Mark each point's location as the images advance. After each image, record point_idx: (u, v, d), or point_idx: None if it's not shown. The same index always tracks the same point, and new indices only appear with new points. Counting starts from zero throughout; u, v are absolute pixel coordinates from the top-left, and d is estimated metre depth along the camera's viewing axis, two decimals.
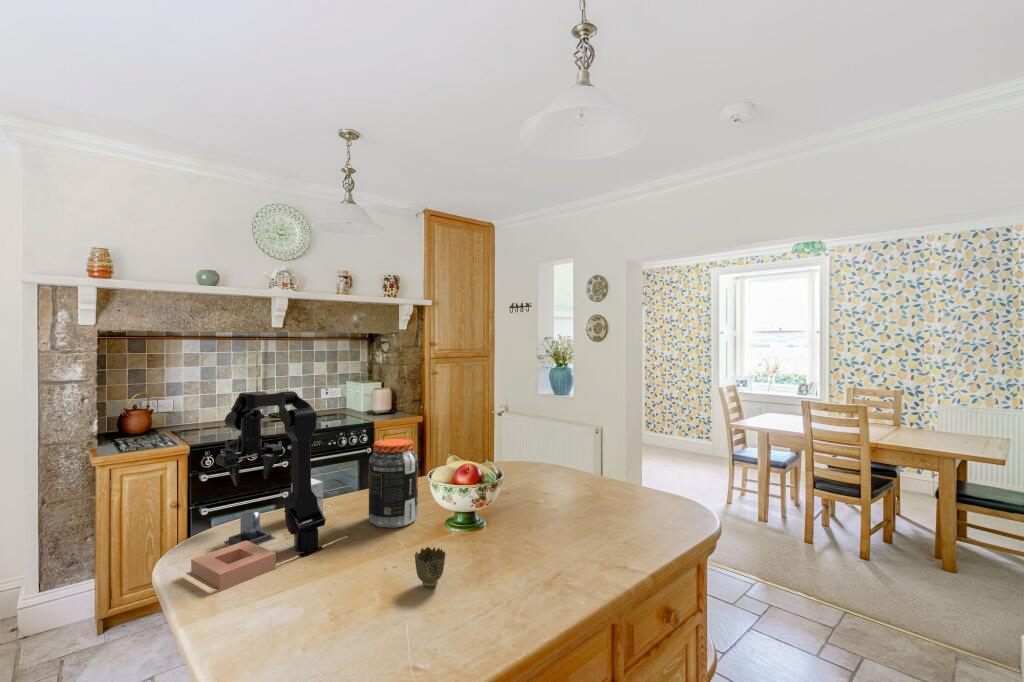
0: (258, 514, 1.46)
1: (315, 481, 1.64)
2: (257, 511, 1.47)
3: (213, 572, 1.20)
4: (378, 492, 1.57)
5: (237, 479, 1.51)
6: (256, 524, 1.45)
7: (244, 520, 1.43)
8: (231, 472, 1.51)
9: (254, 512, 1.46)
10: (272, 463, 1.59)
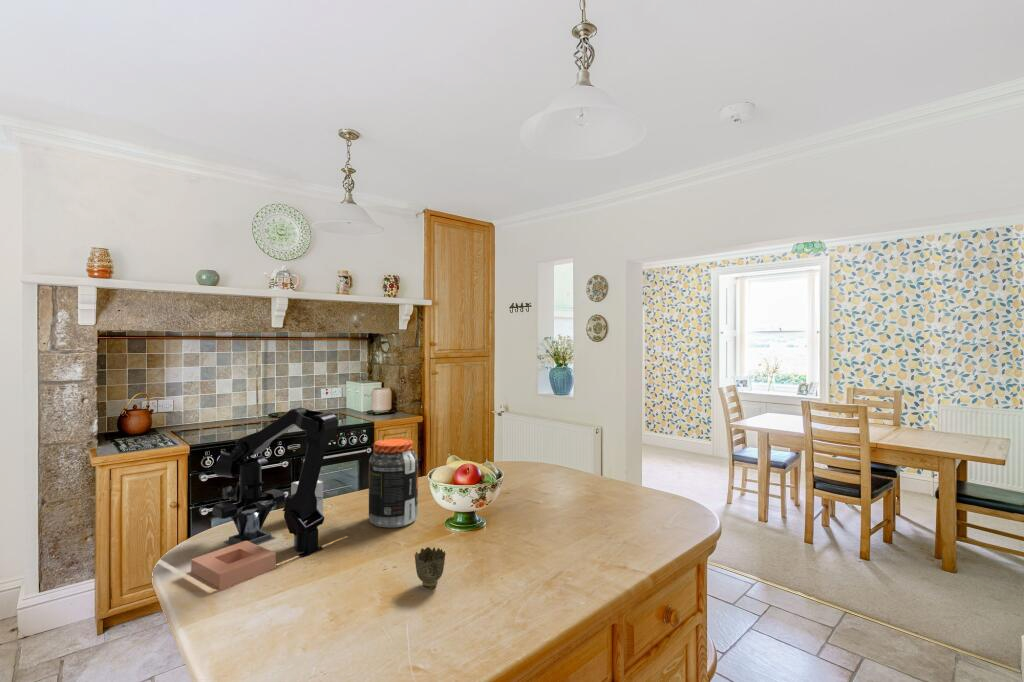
0: (258, 514, 1.46)
1: None
2: (257, 511, 1.47)
3: (213, 572, 1.20)
4: (378, 492, 1.57)
5: (242, 529, 1.43)
6: (256, 524, 1.45)
7: (244, 520, 1.43)
8: (236, 521, 1.43)
9: (254, 512, 1.46)
10: (266, 513, 1.48)
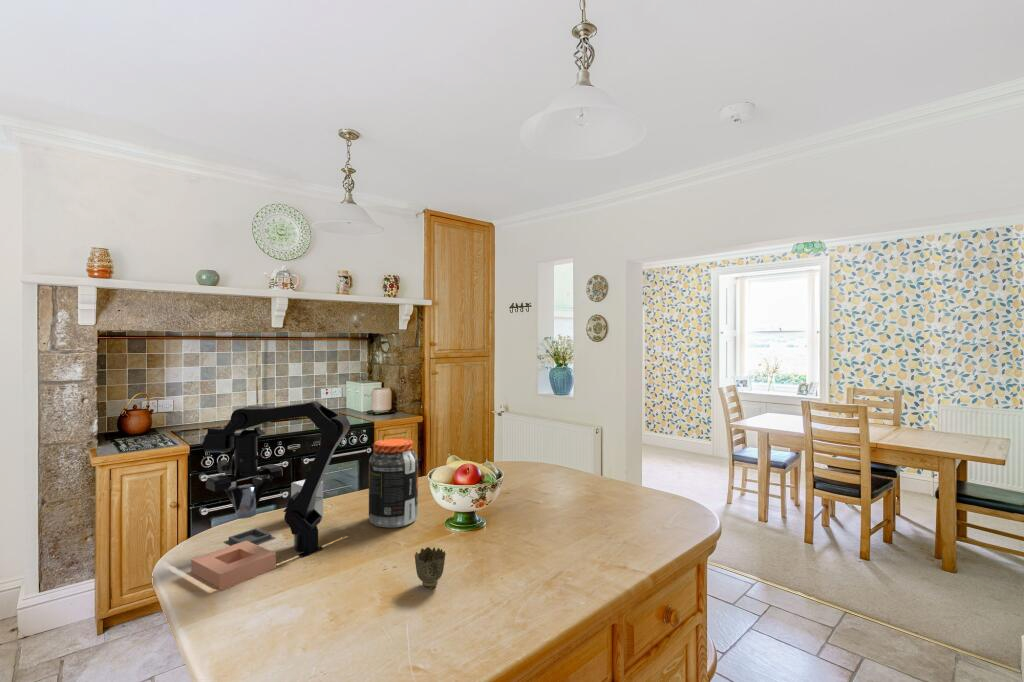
0: (254, 488, 1.40)
1: None
2: (253, 486, 1.41)
3: (213, 572, 1.20)
4: (378, 492, 1.57)
5: (237, 503, 1.37)
6: (252, 499, 1.39)
7: (240, 494, 1.38)
8: (230, 495, 1.37)
9: (249, 487, 1.40)
10: (263, 488, 1.42)
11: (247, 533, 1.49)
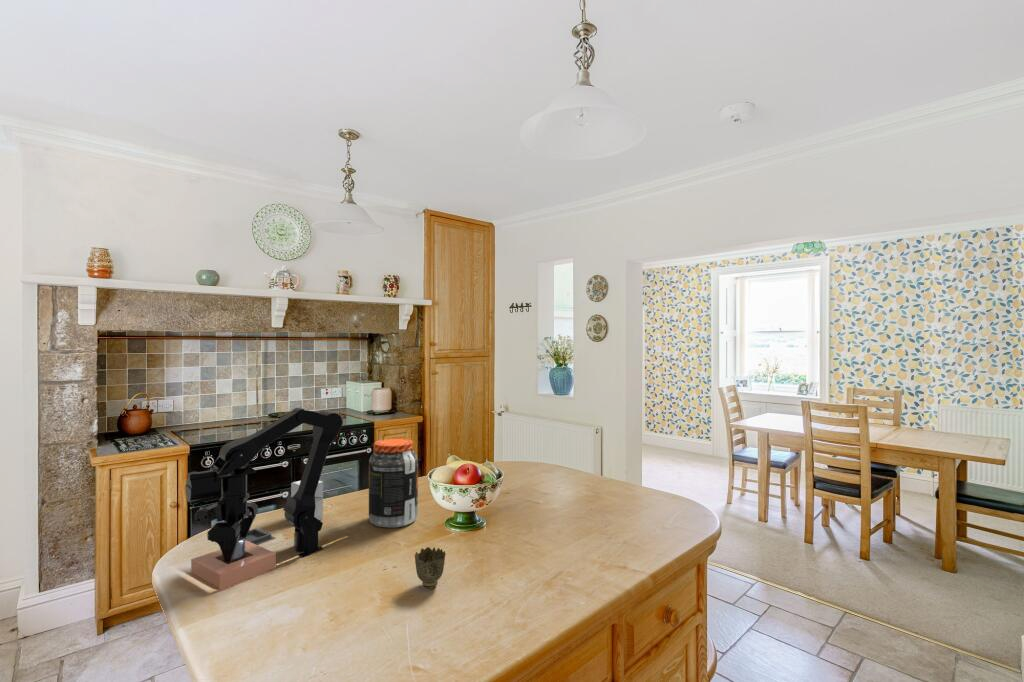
0: None
1: None
2: (240, 537, 1.30)
3: (213, 572, 1.20)
4: (378, 492, 1.57)
5: (233, 552, 1.24)
6: None
7: (236, 549, 1.26)
8: (224, 546, 1.22)
9: (239, 539, 1.29)
10: None
11: None
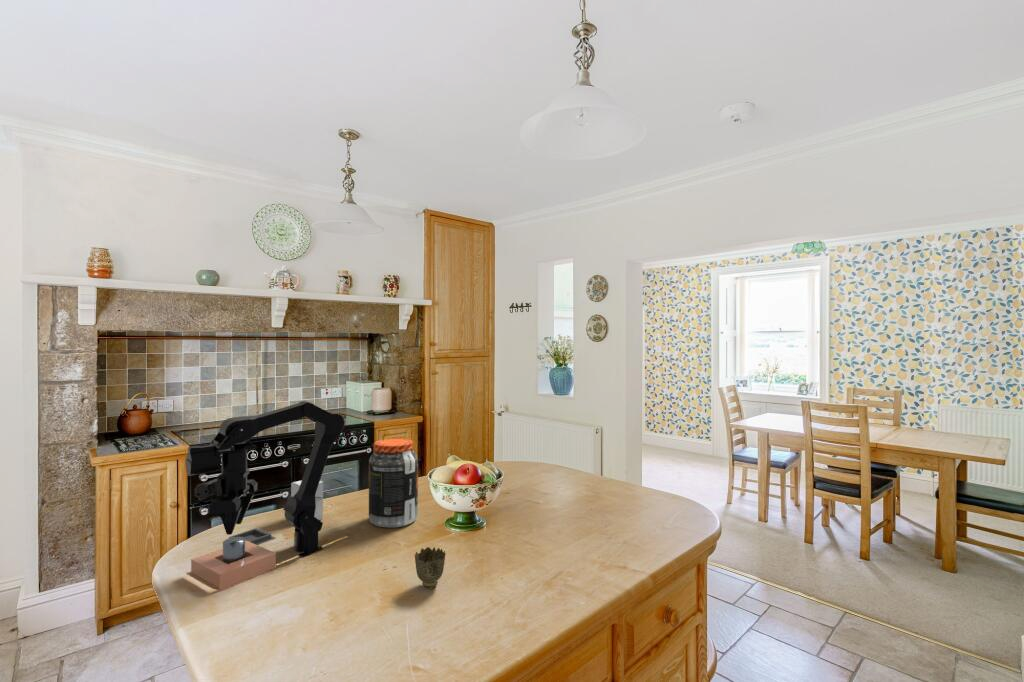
0: None
1: None
2: (240, 537, 1.30)
3: (213, 572, 1.20)
4: (378, 492, 1.57)
5: (234, 525, 1.25)
6: None
7: (236, 549, 1.26)
8: (226, 519, 1.23)
9: (239, 539, 1.29)
10: (249, 503, 1.33)
11: (247, 533, 1.49)
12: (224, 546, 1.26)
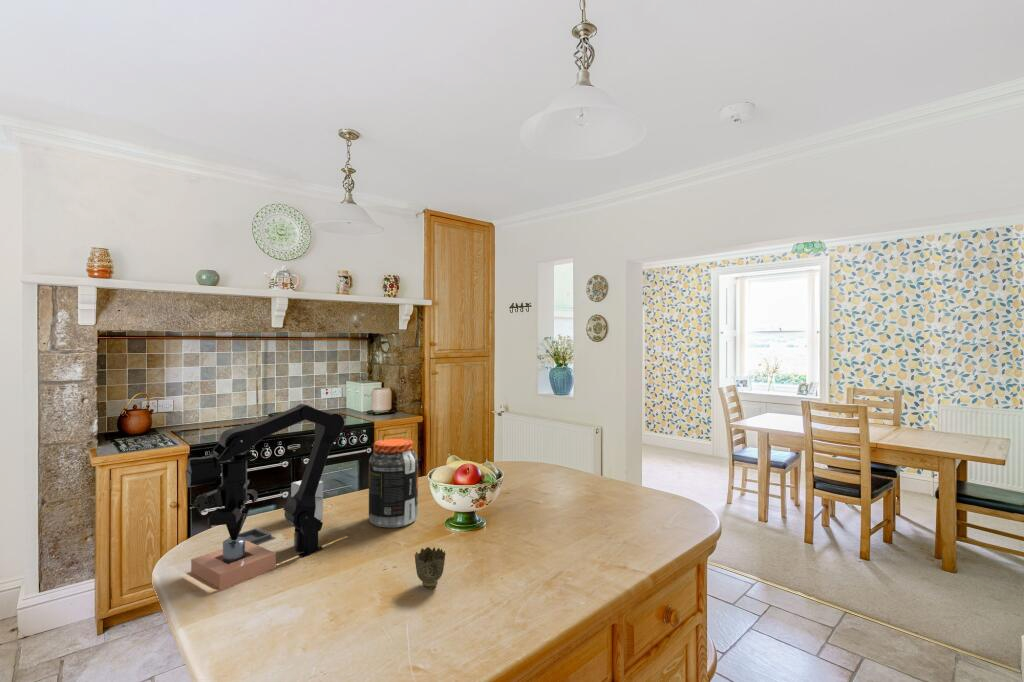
0: None
1: None
2: (240, 537, 1.30)
3: (213, 572, 1.20)
4: (378, 492, 1.57)
5: (239, 531, 1.28)
6: None
7: (236, 549, 1.26)
8: (230, 525, 1.27)
9: (239, 539, 1.29)
10: (245, 518, 1.30)
11: (247, 533, 1.49)
12: (224, 546, 1.26)
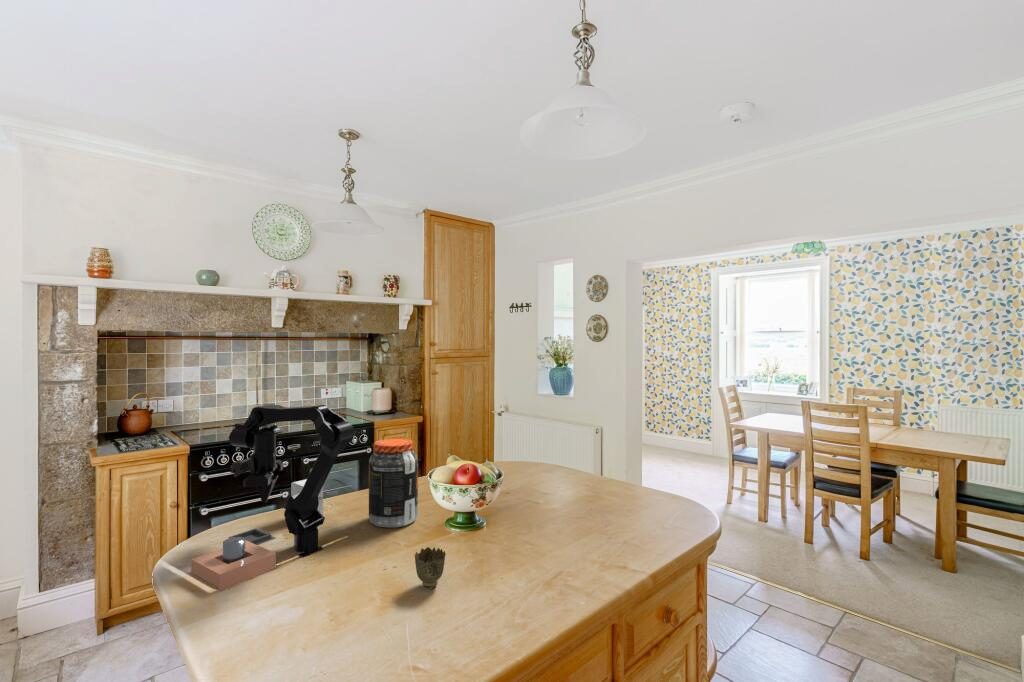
0: None
1: None
2: (240, 537, 1.30)
3: (213, 572, 1.20)
4: (378, 492, 1.57)
5: (268, 495, 1.45)
6: None
7: (236, 549, 1.26)
8: (261, 489, 1.44)
9: (239, 539, 1.29)
10: (274, 483, 1.47)
11: (247, 533, 1.49)
12: (224, 546, 1.26)
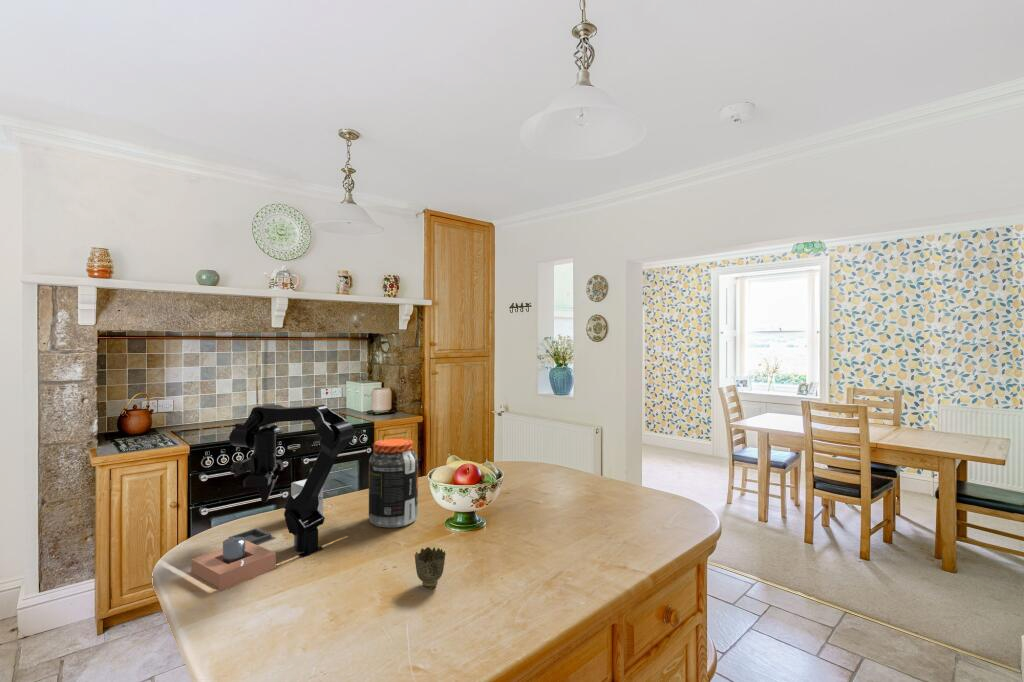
0: None
1: None
2: (240, 537, 1.30)
3: (213, 572, 1.20)
4: (378, 492, 1.57)
5: (269, 495, 1.45)
6: None
7: (236, 549, 1.26)
8: (261, 489, 1.44)
9: (239, 539, 1.29)
10: (274, 483, 1.47)
11: (247, 533, 1.49)
12: (224, 546, 1.26)
